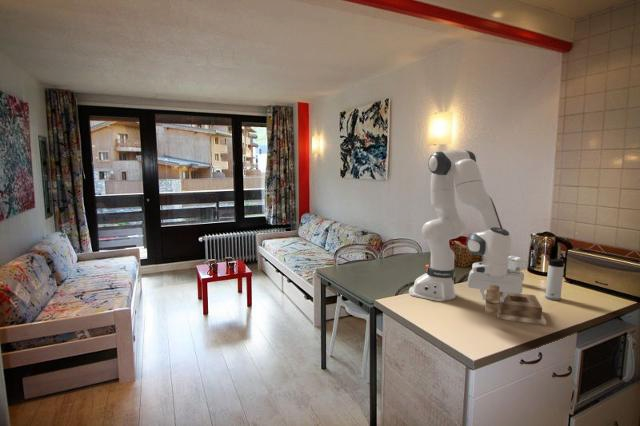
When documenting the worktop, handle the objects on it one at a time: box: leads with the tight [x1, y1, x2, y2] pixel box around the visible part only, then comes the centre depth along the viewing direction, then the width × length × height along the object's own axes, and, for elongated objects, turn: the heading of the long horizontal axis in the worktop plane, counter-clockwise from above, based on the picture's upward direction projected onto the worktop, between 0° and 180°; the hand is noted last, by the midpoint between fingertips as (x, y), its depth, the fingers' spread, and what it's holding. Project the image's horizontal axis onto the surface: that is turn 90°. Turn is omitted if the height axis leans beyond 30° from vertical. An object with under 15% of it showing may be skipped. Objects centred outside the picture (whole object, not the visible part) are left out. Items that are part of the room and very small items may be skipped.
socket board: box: [496, 292, 547, 326], centre depth 162 cm, size 18×18×6 cm
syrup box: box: [508, 255, 522, 272], centre depth 201 cm, size 6×6×14 cm
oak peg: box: [484, 286, 500, 316], centre depth 151 cm, size 5×5×12 cm
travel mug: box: [545, 258, 565, 302], centre depth 178 cm, size 6×7×20 cm
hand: (492, 300), depth 151 cm, fingers closed on oak peg, 5 cm apart
